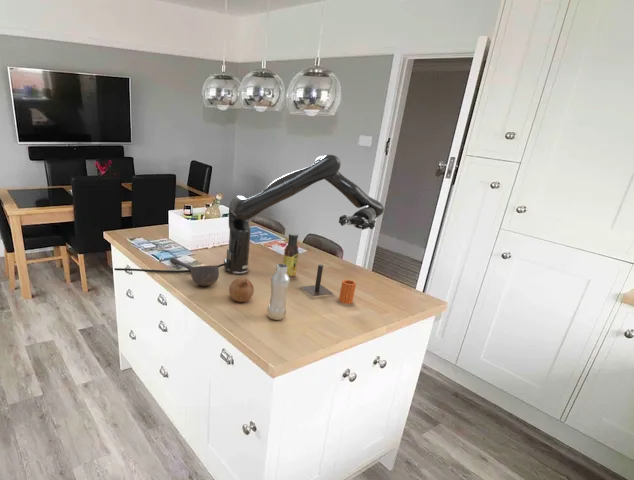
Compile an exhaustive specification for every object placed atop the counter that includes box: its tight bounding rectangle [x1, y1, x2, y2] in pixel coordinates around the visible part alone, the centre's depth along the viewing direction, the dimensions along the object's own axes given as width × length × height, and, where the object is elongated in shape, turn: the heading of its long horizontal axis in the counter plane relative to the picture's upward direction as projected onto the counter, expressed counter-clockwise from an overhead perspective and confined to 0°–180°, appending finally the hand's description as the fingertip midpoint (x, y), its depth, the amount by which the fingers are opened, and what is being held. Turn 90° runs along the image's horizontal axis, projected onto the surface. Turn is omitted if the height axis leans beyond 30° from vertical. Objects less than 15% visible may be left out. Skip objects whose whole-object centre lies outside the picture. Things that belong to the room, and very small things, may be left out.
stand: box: [301, 264, 334, 297], centre depth 171 cm, size 10×10×12 cm
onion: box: [228, 277, 255, 303], centre depth 159 cm, size 10×9×10 cm
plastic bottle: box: [266, 263, 291, 321], centre depth 145 cm, size 6×7×20 cm
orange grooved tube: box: [338, 279, 357, 305], centre depth 164 cm, size 5×5×9 cm
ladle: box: [169, 257, 220, 287], centre depth 181 cm, size 12×38×10 cm, turn 35°
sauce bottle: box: [282, 232, 300, 279], centre depth 183 cm, size 6×6×20 cm
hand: (352, 225), depth 167 cm, fingers open, 8 cm apart
